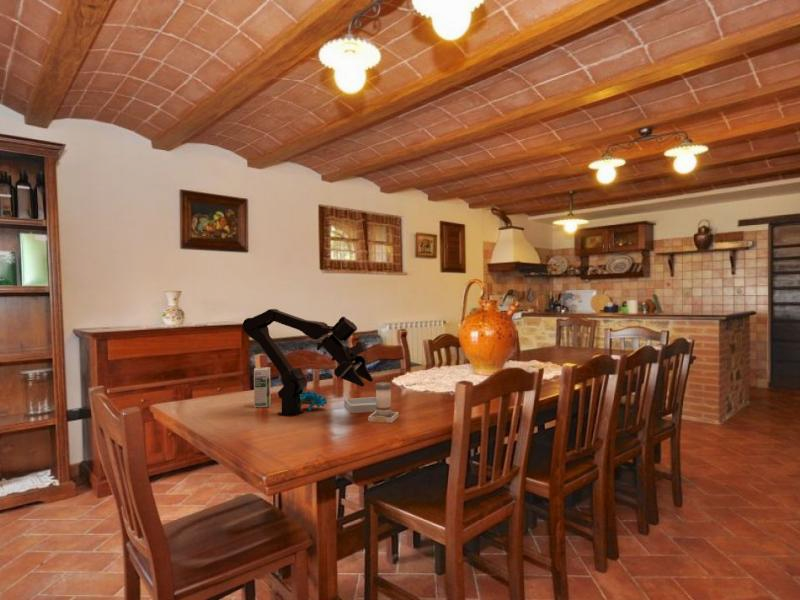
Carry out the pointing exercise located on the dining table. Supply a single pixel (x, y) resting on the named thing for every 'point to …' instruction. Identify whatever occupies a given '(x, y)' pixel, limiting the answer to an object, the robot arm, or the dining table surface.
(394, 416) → the shallow beige tray
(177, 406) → the dining table surface
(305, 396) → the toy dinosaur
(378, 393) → the fuse
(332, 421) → the dining table surface
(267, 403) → the syrup box
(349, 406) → the parts tray
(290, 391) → the robot arm
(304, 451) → the dining table surface
